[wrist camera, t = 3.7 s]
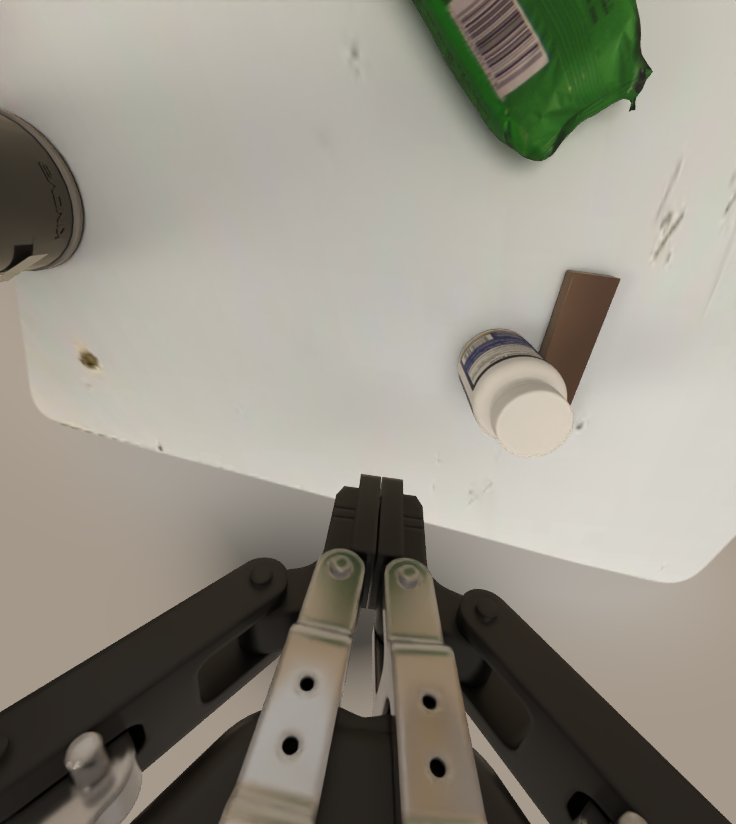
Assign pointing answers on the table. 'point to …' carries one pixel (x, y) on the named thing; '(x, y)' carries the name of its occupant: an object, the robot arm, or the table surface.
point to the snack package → (540, 62)
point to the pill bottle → (515, 393)
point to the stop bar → (577, 324)
